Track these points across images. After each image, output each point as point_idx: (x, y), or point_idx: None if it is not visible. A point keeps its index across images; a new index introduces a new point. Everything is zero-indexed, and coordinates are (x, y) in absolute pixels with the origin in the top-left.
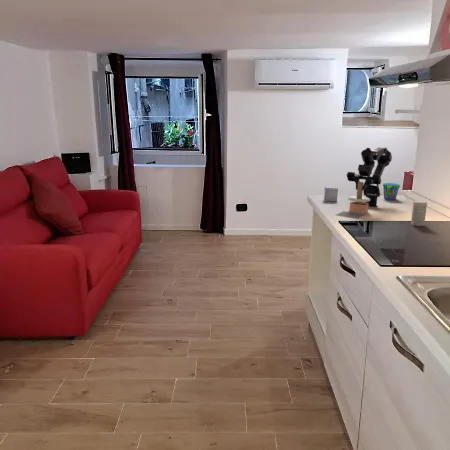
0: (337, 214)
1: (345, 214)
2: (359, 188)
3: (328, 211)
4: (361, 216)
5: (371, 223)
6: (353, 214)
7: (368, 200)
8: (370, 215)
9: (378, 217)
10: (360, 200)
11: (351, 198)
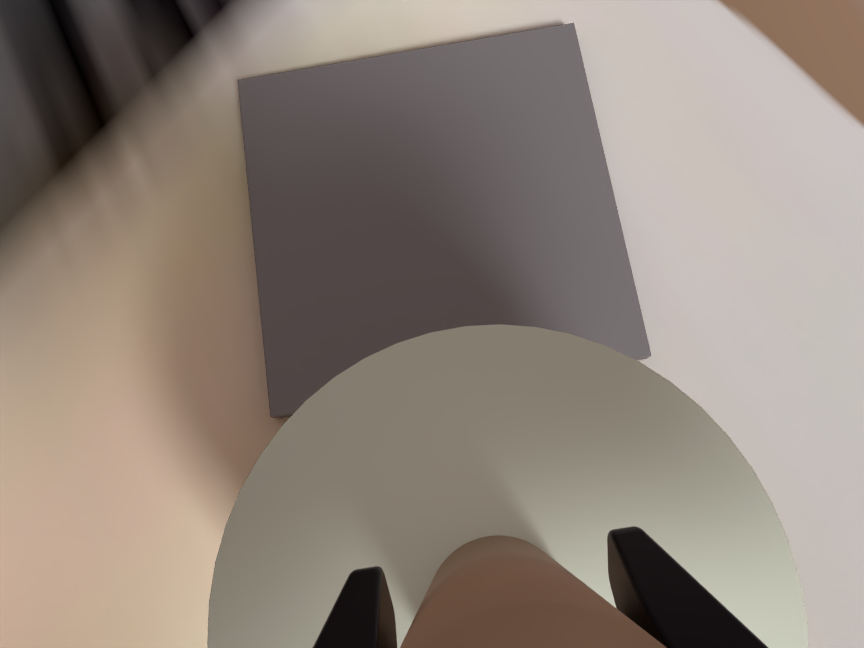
0: (574, 81)
1: (495, 173)
2: (487, 565)
3: (835, 217)
4: (260, 247)
5: (31, 66)
6: (410, 268)
7: (214, 580)
8: (223, 507)
9: (74, 475)
10: (345, 383)
11: (630, 435)
